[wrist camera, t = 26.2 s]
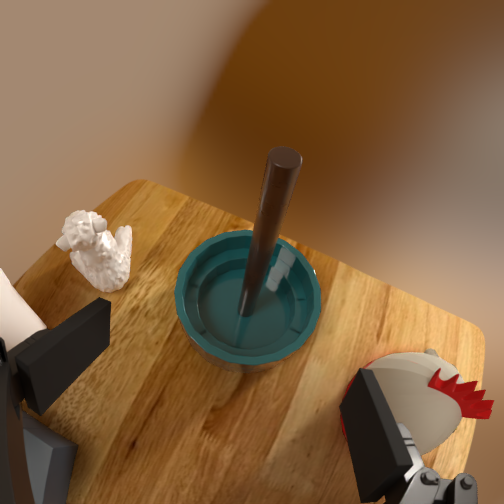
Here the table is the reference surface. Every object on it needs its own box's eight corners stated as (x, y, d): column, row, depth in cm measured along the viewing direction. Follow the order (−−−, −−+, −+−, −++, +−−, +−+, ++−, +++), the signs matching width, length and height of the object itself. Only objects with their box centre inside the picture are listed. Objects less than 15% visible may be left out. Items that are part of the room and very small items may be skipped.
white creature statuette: (131, 229, 38) (110, 164, 28) (155, 278, 35) (133, 218, 24) (72, 258, 34) (34, 200, 24) (89, 312, 31) (44, 263, 21)
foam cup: (56, 300, 31) (3, 245, 20) (63, 370, 27) (-3, 338, 16) (5, 312, 29) (-52, 266, 18) (8, 377, 24) (-60, 348, 13)
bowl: (155, 311, 32) (145, 290, 27) (240, 238, 39) (244, 209, 34) (249, 400, 28) (257, 397, 23) (327, 308, 35) (346, 288, 30)
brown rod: (234, 310, 33) (261, 155, 14) (244, 299, 34) (282, 141, 15) (246, 320, 32) (289, 173, 14) (256, 310, 33) (309, 158, 15)
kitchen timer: (393, 479, 24) (481, 491, 11) (317, 423, 28) (389, 421, 15) (446, 393, 30) (529, 365, 17) (382, 336, 34) (458, 284, 21)
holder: (1, 467, 17) (-27, 468, 12) (13, 403, 23) (-15, 396, 18) (64, 512, 17) (40, 523, 12) (78, 445, 22) (53, 447, 17)
